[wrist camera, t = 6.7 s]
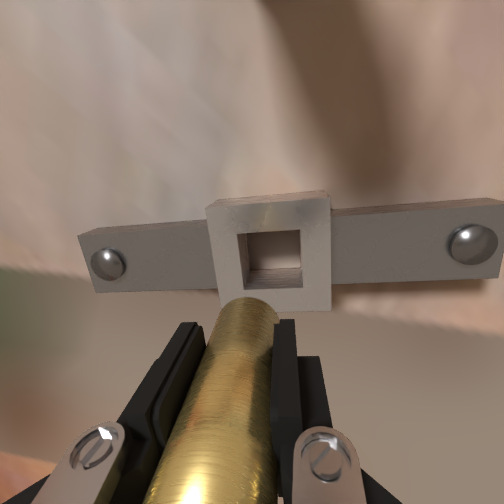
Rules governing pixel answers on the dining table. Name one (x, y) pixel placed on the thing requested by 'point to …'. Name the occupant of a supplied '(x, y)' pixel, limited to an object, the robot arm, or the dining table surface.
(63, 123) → the dining table surface
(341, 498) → the robot arm
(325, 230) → the studded connector plate
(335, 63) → the dining table surface
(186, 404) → the link pin
